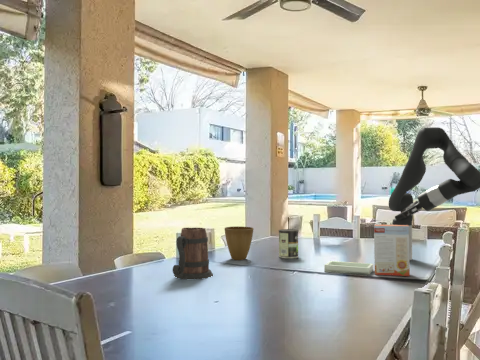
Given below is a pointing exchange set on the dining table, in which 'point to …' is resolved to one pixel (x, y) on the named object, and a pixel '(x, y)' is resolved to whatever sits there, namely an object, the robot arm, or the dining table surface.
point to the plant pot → (238, 241)
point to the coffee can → (288, 243)
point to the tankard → (192, 254)
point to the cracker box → (391, 250)
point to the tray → (348, 267)
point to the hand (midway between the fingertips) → (398, 216)
